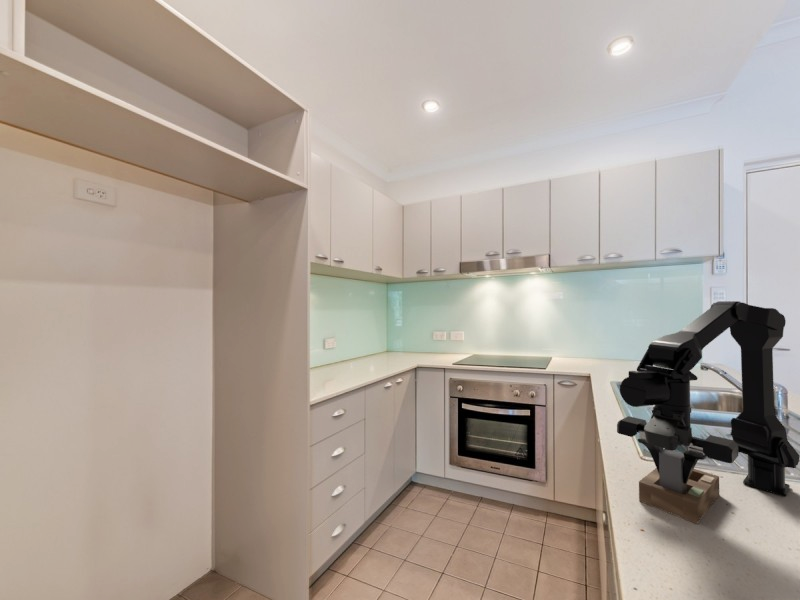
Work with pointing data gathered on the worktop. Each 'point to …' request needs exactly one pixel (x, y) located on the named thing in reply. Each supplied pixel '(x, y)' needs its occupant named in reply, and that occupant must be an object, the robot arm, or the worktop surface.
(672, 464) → the plug
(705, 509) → the socket block
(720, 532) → the worktop surface
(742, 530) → the worktop surface
